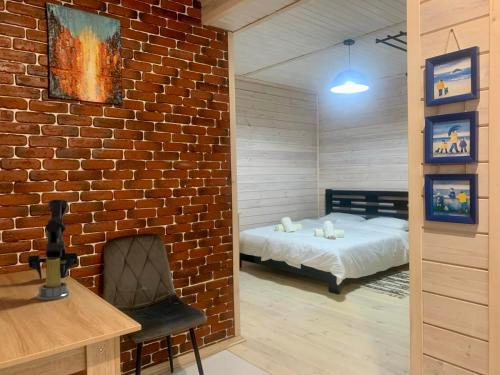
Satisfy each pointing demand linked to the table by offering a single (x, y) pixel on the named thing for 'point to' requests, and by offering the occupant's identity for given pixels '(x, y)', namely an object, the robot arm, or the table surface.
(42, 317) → the table surface
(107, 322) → the table surface
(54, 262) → the vase
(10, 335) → the table surface
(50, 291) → the collar
